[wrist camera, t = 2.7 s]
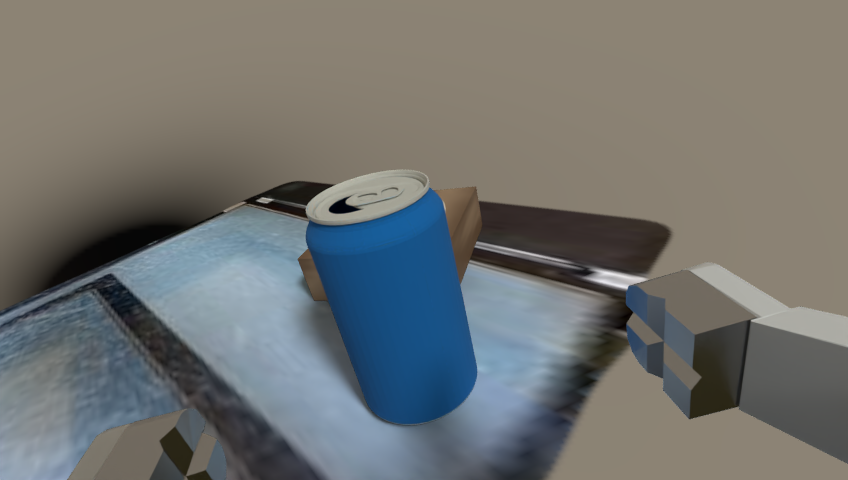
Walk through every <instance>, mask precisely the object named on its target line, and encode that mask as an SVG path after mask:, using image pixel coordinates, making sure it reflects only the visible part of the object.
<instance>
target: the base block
mask: <svg viewBox="0 0 848 480" xmlns="http://www.w3.org/2000/svg"><path fill="white" fill-rule="evenodd" d="M433 191H435V192H436V193H437V194H438V195H439V197H440V198H441V200H442V201H443V204H444V208H445V213H446V218H447V223H448V228H449V233H450V238H451V243H452V247H453V252H454V257H455V262H456V267H457V272H458V277H459V282H460V284H461V282H462V279H463V276H464V273H465V271H466V268H467V265H468V263H469V260H470V257H471V255H472V252H473V249H474V246H475V244H476V241H477V238H478V236H479V233H480V230H481V228H482V220H481V214H480V208H479V202H478V196H477V190H476V187H466V188H455V189H444V190H433ZM298 261H299V264H300V266H301V269H302V271H303V274H304V277H305V279H306V282H307V284H308V287H309V289H310V292H311V294H312V297H313V299H314V301H328V299H327V296H326V293H325V291H324V288H323V286H322V283H321V280H320V278H319V275H318V272H317V270H316V267H315V264H314V262H313V259H312V256H311V254H310V251H309V248H308V249H307V250H306V251H305V252H304V253H303V254H302V255H301V256H300V257H299V258H298Z"/></svg>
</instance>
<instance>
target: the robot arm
mask: <svg viewBox="0 0 848 480" xmlns="http://www.w3.org/2000/svg"><path fill="white" fill-rule="evenodd" d="M626 305H627V306H628V307H629V308H630V309H631V310H632V311H633V312H634V313H633V314H632V316H631V318H630V319H629V321H628V322H627V337H628V341H629V343H630V346H631V349H632V352H633V354H634V355H635V357H636V359H637V360H638V362H639V363H640V364H641V365H642V367H643V368H644V369H645V370H646V371H647V372H648V373H651V374H653V375H655V376H658V377H660V378H663V391H664V392H665V393H666V394H667V395H668V396H669V397H670V398H671V400H672V401H673V402H674V403H675V404H676V405H677V406H678V407H679V409H680V410H681V411H682V412H683V413H684V414H685V415H686V416H687V417H688V419H693V418H697V417H700V416H704V415H708V414H712V413H716V412H720V411H724V410H728V409H731V408H735V407H739V410H741V411H743V412H745V413H747V414H749V415H751V416H753V417H755V418H757V419H759V420H761V421H763V422H765V423H767V424H769V425H771V426H773V427H775V428H777V429H779V430H781V431H783V432H785V433H787V434H789V435H791V436H793V437H795V438H797V439H799V440H801V441H803V442H805V443H807V444H809V445H811V446H813V447H815V448H817V449H819V450H821V451H823V452H825V453H827V454H829V455H831V456H833V457H835V458H837V459H839V460H841V461H843V462H845V463H847V464H848V317H845V316H840V315H836V314H831V313H827V312H823V311H818V310H813V309H809V308H805V307H797V308H793V309H790V308H789V307H787V306H785V305H784V304H782V303H780V302H779V301H777V300H775V299H774V298H772V297H770V296H769V295H767V294H766V293H764V292H762V291H761V290H759V289H757V288H756V287H754V286H752V285H751V284H749V283H747V282H746V281H744V280H743V279H741V278H739V277H737V276H736V275H734V274H732V273H731V272H729V271H728V270H726V269H724V268H723V267H721V266H719V265H718V264H714V263H710V262H706V263H703V264H700V265H696V266H693V267H690V268H687V269H683V270H681V271H680V272H676V273H672V274H669V275H665V276H662V277H658V278H655V279H651V280H648V281H644V282H641V283H637V284H634V285H630V286H629V287H628V290H627V292H626ZM205 424H206V421H205V420H204V419H203V417H202V416H201V415H200V413H199V412H198V410H197V409H190V408H187V409H183V410H179V411H175V412H172V413H168V414H164V415H160V416H156V417H152V418H148V419H144V420H140V421H136V422H134V423H130V424H126V425H122V426H118V427H115V428H111V429H107V430H105V431H104V432H102V433H101V434H99V435H97V436H96V438H95V439H94V441H93V442H92V444H91V445H90V447H89V448H88V450H87V451H86V452H85V454H84V455H83V457H82V458H81V460H80V461H79V463H78V464H77V466H76V467H75V469H74V470H73V472H72V473H71V475H70V476H69V478H68V479H67V480H226V458H225V455H224V451H223V448H222V446H221V445H220V443H219V442H218V440H217V439H216V438H214V437H211V436H209V435H207V434H205V433H203V431H204V427H205Z"/></svg>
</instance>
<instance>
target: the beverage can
mask: <svg viewBox="0 0 848 480" xmlns="http://www.w3.org/2000/svg"><path fill="white" fill-rule="evenodd" d="M429 186H430V183H429V179H428V177H427V175H425V174H424V173H422V172H419V171H413V170H390V171H382V172H377V173H372V174H367V175H364V176H360V177H356V178H353V179H350V180H347V181H344V182H342V183H339V184H337V185H335V186H333V187H331V188H328V189H327V190H325V191H323V192H321V193H320V194H318V195H317V196H316V197H314V198H313V199H312V200H311V201H310V202H309V203H308V205H307V207H306V214H307V217H308V218H309V220H310V221H309V224H308V227H307V230H306V243H307V246H308V248H309V251H310V254H311V256H312V259H313V262H314V264H315V267H316V270H317V272H318V275H319V278H320V280H321V283H322V286H323V288H324V291H325V293H326V296H327V299H328V301H329V304H330V307H331V309H332V312H333V315H334V317H335V320H336V323H337V325H338V328H339V331H340V333H341V336H342V339H343V341H344V344H345V347H346V349H347V352H348V355H349V357H350V360H351V363H352V365H353V368H354V371H355V373H356V376H357V379H358V381H359V384H360V386H361V389H362V392H363V394H364V397H365V400H366V402H367V404H368V406H369V407H370V409H371V410H372V411H373V412H374V413H375V414H376V415H377V416H379V417H380V418H382V419H384V420H386V421H388V422H392V423H395V424H401V425H417V424H423V423H428V422H431V421H434V420H437V419H439V418H442V417H444V416H446V415H447V414H449V413H451V412H452V411H454V410H455V409H457V408H458V407H459V406H460V405H461V404H462V403H463V402H464V401H465V400H466V399H467V398H468V396H469V395H470V393H471V392H472V390H473V388H474V385H475V382H476V378H477V365H476V360H475V355H474V350H473V345H472V341H471V336H470V331H469V326H468V321H467V316H466V311H465V306H464V301H463V296H462V292H461V287H460V282H459V277H458V272H457V267H456V262H455V257H454V252H453V247H452V243H451V238H450V233H449V228H448V223H447V218H446V213H445V208H444V204H443V201H442V200H441V198H440V197H439V195H438V194H437V193H436V192H435V191H433V190H432V189H431V188H430V187H429Z"/></svg>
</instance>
